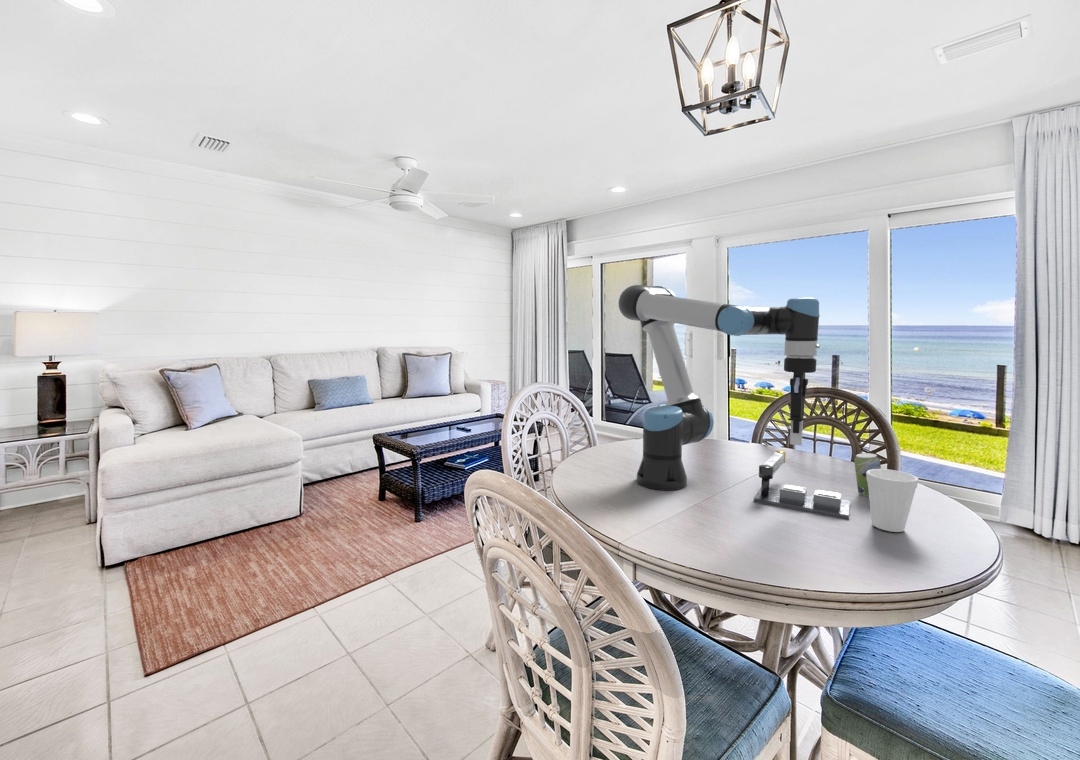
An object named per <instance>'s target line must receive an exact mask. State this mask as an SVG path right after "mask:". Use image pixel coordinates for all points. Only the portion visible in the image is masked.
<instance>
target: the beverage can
mask: <svg viewBox="0 0 1080 760" xmlns="http://www.w3.org/2000/svg"><path fill="white" fill-rule="evenodd" d="M853 461H854V470H855V476H856V485H857V486H856V487H857V493H858V494H859V495H862V496H863V497H867V498H869V491H868V482H867V477H866V472H867V471H868V470H871V469H882V466H881V460H880V458H879V457H878V455H877V454H875V453H872V452H864V453H863V452H862V453H861V452H860V453H858V454H856V455H855V458H854V459H853Z"/></svg>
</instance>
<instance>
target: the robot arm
mask: <svg viewBox="0 0 1080 760" xmlns="http://www.w3.org/2000/svg"><path fill="white" fill-rule="evenodd" d="M676 295H677V294H675V293H674V291H673V290H671V289H669V288H667V287H664V286H660V285H653V286H652V285H643V284H633V285H631V286H628V287H626V288H625V289H624V290H623V291H622V292H621V293H620V295H619V298H618V303H617V304H618V309H619V311H620V313H621V315H622V316H624V317H625V318H626V319H628V320H631V321H636V322H637V321H638V322H640V326H641V329H642V331H644V332H645V333H648V336H649V337H648V338H649V340H650V344H651V347H652V352H653V353H654V357H655V361H656V364H657V368H658V372H659V376H660V378H661V381H662V382H661V383H662V385H663V389H664V394H665V396H666V400H667V401H666V404H665V405H661V406H660V405H656V406H652V407H649V408H648V409H646V410H645V411H644V413H643V421H642V427H643V428H642V459H641V461H640V464H639V466H638V467H639V468H638V470H637V473H636V482H637V484H639V485H640V486H642V487H645V488H648V489H652V490H656V491H657V490H659V491H676V490H682V489H684V488H686V487H687V485H688V476H687V473H686V470H685V466H684V464H683V463H684V462H683V459H682V457H683V456H682V455H683V453H682V452H683V451H682V450H683V446H686V445H689V444H692V443H693V444H694V443H698V442H700V441H703V440H705V439H706V438H708V437H709V435H711V433H712V431H713V429H714V416H713V414H712V412H711V410H710V409H709V408H707V407H706V406H704V405H703V403H702V400H701V398H700V396H699V395H698V396H697V395H696V394H695V393H694V390H693V386H692V383H691V380H690V376H689V374H688V371H687V370H688V369H687V367H686V363H685V360H684V357H683V353H682V350H681V346H680V344H679V343H680V342H679V340H678V336H677V333H676V330H675V327H674V325H675V324H679V325H684V326H690V327H694V328H700V329H705V330H706V329H707V330H711V331H716V332H717V331H718V332H721V333H724V334H725V335H728V336H729V335H730V336H736V337H738V336H747V335H749V336H751V335H752V336H753V335H756V336H757V335H759V336H760V335H761V336H762V335H785V338H784V353H783V354H784V356H786V357H785V358H784V359H783V371H785V372H786V373H787V372H788V373H793V377H791V378H790V379H789V385H790V416H789V417H788V418H787V420H788V421H789V422H790V430H789V431H790V433H789V435H790V436H789V445H794V446H795V445H796V446H802V445H803V430H804V429H803V428H804V426H803V425H804V421H807V417H804V416H805V402H806V394H807V389H808V388H807V387H808V385H809V378H806V374H808V373H809V374H811V373H812V374H813V373H815V372H816V370H817V359H816V356H817V355H818V353H817V352H818V349H820V347H821V345H820V344H818V335H819V324H820V323H819V322H820V321H819V320H820V301H819V300H818V299H817V298H816V297H815V298H814V297H798V298H797V297H795V298H788V300H787V302H786V304H785V305H783V306H767V307H765V306H746V305H745V306H744V305H737V304H736V305H735V304H729V303H728V304H727V303H723V302H722V303H721V302H715V301H708V300H699V299H693V298H685V297H679V296H678V297H677V296H676Z"/></svg>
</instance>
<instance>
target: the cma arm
mask: <svg viewBox="0 0 1080 760" xmlns="http://www.w3.org/2000/svg"><path fill="white" fill-rule="evenodd" d="M786 454H787V453H786V451H784V450H775V452H774V453H773V454H772V455H771V456H770V457H769V458H768V459H767V460H766V461H765V462H764V463H763V464H759V466H758V477H759V478H760V479H762V478H763V479H770V480H772V479H773V478H774V475H775V473H777V471H778V470H779V469H780V468H781V466H782V465H783V464H785V463H786Z"/></svg>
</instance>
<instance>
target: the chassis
mask: <svg viewBox="0 0 1080 760" xmlns="http://www.w3.org/2000/svg"><path fill="white" fill-rule="evenodd" d="M770 480H771V479H763V478H761V486H760V488H759V490H758V492H757V493H756V495H755V496H754V497H753V503H759V504H764V505H771V506H775V507H779V508H780V507H781V508H784V509H791V510H796V511H801V512H802V511H803V512H808V513H812V514H818V515H824V516H829V517H833V518H834V517H835V518H840V519H846V520H849V518H850V509H851V508H850V504H851V501H850V500H848V499H842V493H839V492H834V491H827V490H821V489H815V490H814V492H813V494H812V493H807V492H808V488H807V487H803V486H799V485H798V486H797V485H791V484H785V483H783V484H782V485H781V486H780V488H775V487H771V486H770V483H771V482H770Z"/></svg>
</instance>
